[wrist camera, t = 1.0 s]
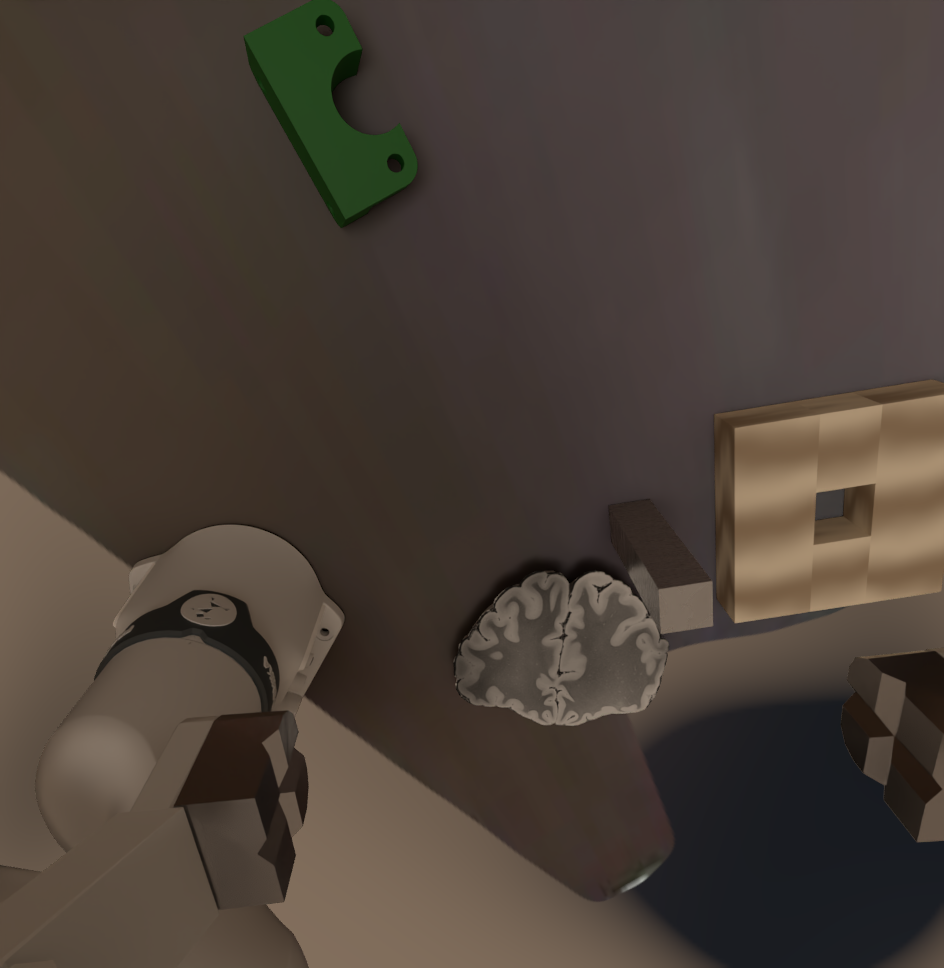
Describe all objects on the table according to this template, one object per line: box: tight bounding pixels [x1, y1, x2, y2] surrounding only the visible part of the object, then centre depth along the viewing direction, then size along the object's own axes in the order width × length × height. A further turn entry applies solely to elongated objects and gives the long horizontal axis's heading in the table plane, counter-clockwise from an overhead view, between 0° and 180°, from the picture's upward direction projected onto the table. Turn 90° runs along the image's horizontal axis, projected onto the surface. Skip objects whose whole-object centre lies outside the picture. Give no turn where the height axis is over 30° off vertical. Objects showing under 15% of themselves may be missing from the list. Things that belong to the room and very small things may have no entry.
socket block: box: [714, 379, 944, 623], centre depth 54 cm, size 18×18×4 cm
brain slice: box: [453, 570, 669, 726], centre depth 59 cm, size 20×17×3 cm
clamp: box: [244, 0, 418, 228], centre depth 41 cm, size 12×6×9 cm, turn 22°
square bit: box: [608, 499, 713, 634], centre depth 50 cm, size 4×4×14 cm
